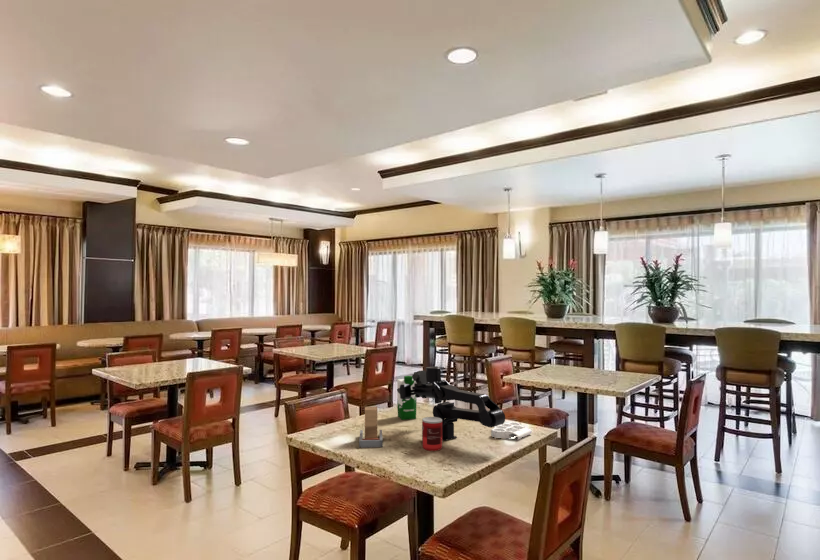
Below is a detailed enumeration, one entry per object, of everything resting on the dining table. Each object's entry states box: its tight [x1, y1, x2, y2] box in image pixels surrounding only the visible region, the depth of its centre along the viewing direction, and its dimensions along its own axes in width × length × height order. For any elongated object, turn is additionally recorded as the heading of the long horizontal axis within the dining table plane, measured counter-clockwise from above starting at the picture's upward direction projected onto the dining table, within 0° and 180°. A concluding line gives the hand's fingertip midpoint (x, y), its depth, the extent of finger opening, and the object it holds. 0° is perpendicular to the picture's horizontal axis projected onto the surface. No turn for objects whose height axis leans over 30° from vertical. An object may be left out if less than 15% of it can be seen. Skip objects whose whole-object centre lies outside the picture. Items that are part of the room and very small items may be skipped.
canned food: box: [421, 416, 443, 452], centre depth 186 cm, size 8×8×11 cm
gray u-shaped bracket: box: [358, 429, 384, 448], centre depth 194 cm, size 15×9×2 cm, turn 4°
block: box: [364, 406, 378, 439], centre depth 195 cm, size 5×5×13 cm
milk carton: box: [396, 375, 417, 421], centre depth 232 cm, size 9×9×20 cm
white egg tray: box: [490, 421, 533, 441], centre depth 204 cm, size 3×18×15 cm
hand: (405, 388), depth 218 cm, fingers open, 9 cm apart
